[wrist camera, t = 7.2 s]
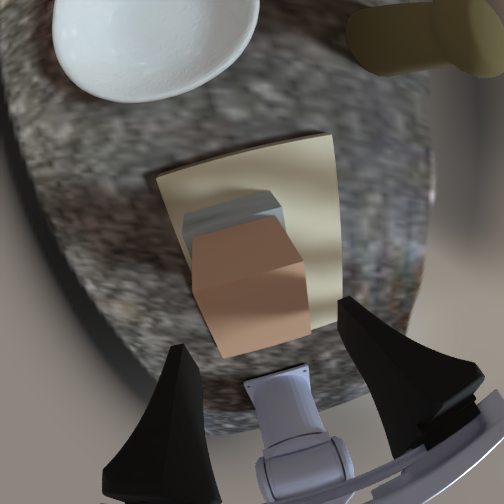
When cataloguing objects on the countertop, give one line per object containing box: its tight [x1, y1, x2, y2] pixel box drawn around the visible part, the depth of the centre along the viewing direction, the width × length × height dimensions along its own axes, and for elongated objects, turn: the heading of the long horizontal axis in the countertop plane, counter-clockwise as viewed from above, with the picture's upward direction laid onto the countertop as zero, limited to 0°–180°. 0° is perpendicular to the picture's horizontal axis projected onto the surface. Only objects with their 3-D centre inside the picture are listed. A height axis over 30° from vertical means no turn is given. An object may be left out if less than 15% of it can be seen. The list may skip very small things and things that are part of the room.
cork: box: [345, 0, 504, 78], centre depth 10 cm, size 6×6×11 cm
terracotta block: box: [192, 216, 311, 359], centre depth 15 cm, size 5×5×5 cm
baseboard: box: [156, 133, 342, 330], centre depth 21 cm, size 18×12×4 cm, turn 12°
